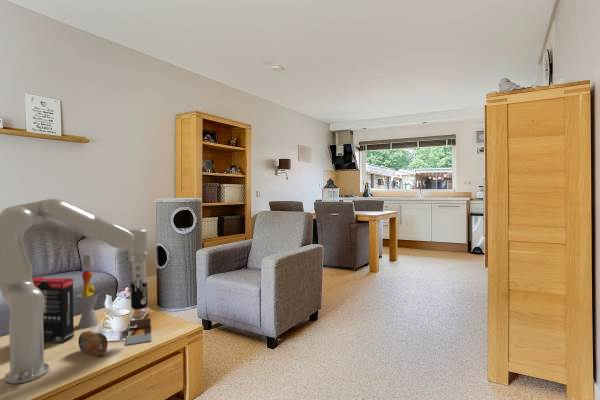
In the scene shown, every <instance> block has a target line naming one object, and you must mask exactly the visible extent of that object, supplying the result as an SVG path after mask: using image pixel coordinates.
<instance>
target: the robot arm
mask: <svg viewBox="0 0 600 400" xmlns="http://www.w3.org/2000/svg"><path fill="white" fill-rule="evenodd" d="M46 222H52V223H55V224H57V225H59V226H62V227H64V228H66V229H68V230H71V231H73V232H75V233H77V234H80V235H83V236H86V237H88V238H93V239H97V240H100V241H102V242H105V243H107V244H108V245H109V246H110V247H112V248H116V249H119V250H124V251H125V250H128V262H129V263H131V271H132V281H133V284H134V285H135V300H142V299H143V290H142V283H144V284H145V283H146V282H147V274H146V273H147V272H146V261H148V260H149V259H148V257H149V256H148V231H147V230H146V229H145V228H135V229H133V228H132V229H128V230H127V229H125V228H123V227H121V226H119V225H116V224H114V223H112V222H109V221H107V220H106V219H103V218H101V217H99V216H96V215H94V214H92V213H90V212H88V211H85V210H84V209H81V208H79V207H77V206H75V205H73V204H71V203H69V202H67V201H65V200H62V199H59V198H47V199H43V200H39V201H33V202H28V203H24V204H18V205H13V206H8V207H6V208H5V209H3V210H1V212H0V291H1V295H2V297H3V300H4V302H5V303H6V305H7V306H8V307H9V324H8V326H9V328H8V330H9V331H8V335H9V372H7V373H5V375H4V377H3V380H4V381H3V382H5V383H6V384H11V385H13V384H14V385H15V384H22V383H27V382H31V381H33V380H36V379H38V378H41V377H43V376H44V375H45V374H47V373H48V372H49V370H50V364H48V363H46V362H45V351H44V350H45V348H44V347H45V345H44V344H45V342H44V330H43V314H44V305H45V299H44V295H43V293H42V292H41V290H40V289H38V288H37V287H36V286H34V283H33V280H32V279H33V278H32V275H33V272H34V271H33V266H32V263H31V261H30V259H29V256H28V253H27V251H26V248H25V247H26V246H25V244H24V235H25V232H26V231H27V230H28V229H29V228H31V227H32V226H33V225H38V224H43V223H46ZM140 282H141V283H140ZM136 283H137V284H136ZM136 285H137V286H136ZM140 285H141V286H140Z"/></svg>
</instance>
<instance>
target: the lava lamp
mask: <svg viewBox="0 0 600 400" xmlns="http://www.w3.org/2000/svg"><path fill="white" fill-rule="evenodd" d="M92 256H93V255H92V253H84V254H83V258H82V265H81V268H93V267H94V263H93V262H94V261H93V257H92ZM92 277H93V272H92V271H90V270H85V271H83V272H82V275H81V278H82V281H83V292H82V293H79V294H77V295H76V296H77V299H78V302H79V304H80V306H81V308H82V312H81V315H80V316H81V317H80V318H79V319H80V320H79V322H78V325H77V327H78V328H79V329H87V328H92V327H95V326H97V325H98V324H99V320H98V317H97V315H96V312H95V309H94V307H95V305H96V302H97V299H98V298H99V297H98V296H99V294H100V293H99V292H97V291H95V286H94V285H92V284H91V285H90V281H91V279H92Z"/></svg>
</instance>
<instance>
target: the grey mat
mask: <svg viewBox="0 0 600 400" xmlns="http://www.w3.org/2000/svg"><path fill="white" fill-rule="evenodd" d="M128 336H129V338H128V339H127V338H126V339H127V340H125V346H131V345H132V346H133V345H138V344H143V343H151V342H152V332H151V333H150V332H148V333H140V334H135V335H128Z"/></svg>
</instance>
